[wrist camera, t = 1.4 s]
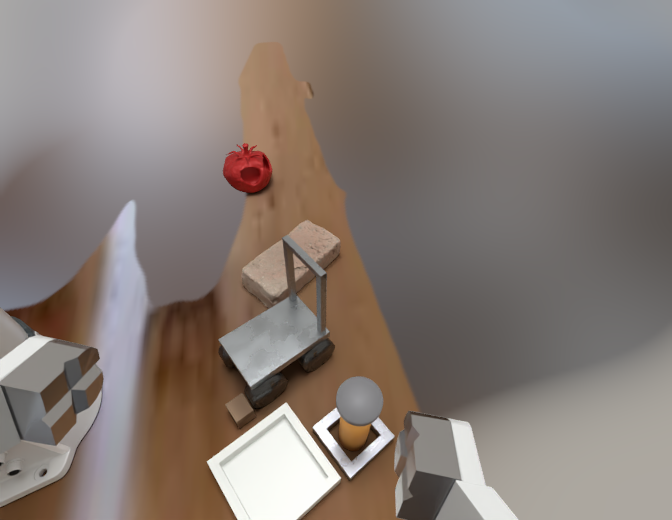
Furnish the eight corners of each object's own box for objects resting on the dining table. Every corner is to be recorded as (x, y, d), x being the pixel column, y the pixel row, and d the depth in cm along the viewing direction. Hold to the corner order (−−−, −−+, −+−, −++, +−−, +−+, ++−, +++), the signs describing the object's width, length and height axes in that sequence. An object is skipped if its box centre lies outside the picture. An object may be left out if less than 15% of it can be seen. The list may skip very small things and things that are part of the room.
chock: (239, 428, 48) (236, 422, 46) (228, 411, 49) (225, 404, 47) (256, 416, 49) (253, 410, 47) (245, 400, 50) (242, 392, 48)
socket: (349, 481, 44) (350, 478, 43) (312, 430, 48) (312, 427, 47) (393, 440, 47) (394, 436, 46) (355, 396, 51) (356, 391, 50)
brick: (275, 314, 60) (273, 296, 56) (240, 286, 63) (236, 268, 60) (341, 256, 68) (342, 238, 65) (307, 235, 72) (307, 216, 68)
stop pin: (350, 465, 45) (357, 433, 36) (326, 432, 48) (326, 395, 39) (379, 438, 47) (392, 402, 38) (354, 408, 50) (361, 368, 41)
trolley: (255, 413, 49) (228, 340, 35) (222, 363, 53) (186, 280, 39) (334, 355, 55) (338, 273, 41) (298, 314, 59) (290, 227, 45)
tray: (259, 557, 39) (256, 556, 38) (210, 466, 45) (206, 461, 43) (340, 482, 44) (341, 478, 42) (287, 408, 50) (286, 402, 48)
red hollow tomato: (217, 187, 81) (206, 148, 74) (250, 165, 86) (242, 127, 79) (251, 204, 77) (243, 165, 70) (283, 180, 82) (278, 142, 75)
